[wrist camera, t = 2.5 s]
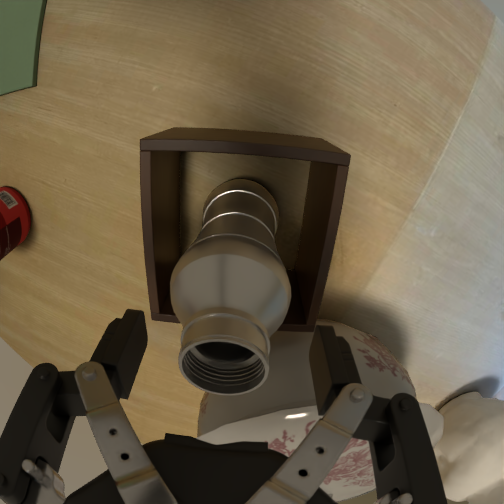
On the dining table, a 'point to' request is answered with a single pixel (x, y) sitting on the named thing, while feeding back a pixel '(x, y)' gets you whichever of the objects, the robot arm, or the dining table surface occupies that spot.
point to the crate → (248, 143)
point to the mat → (19, 43)
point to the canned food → (12, 220)
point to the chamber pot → (310, 405)
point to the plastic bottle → (231, 291)
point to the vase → (472, 449)
